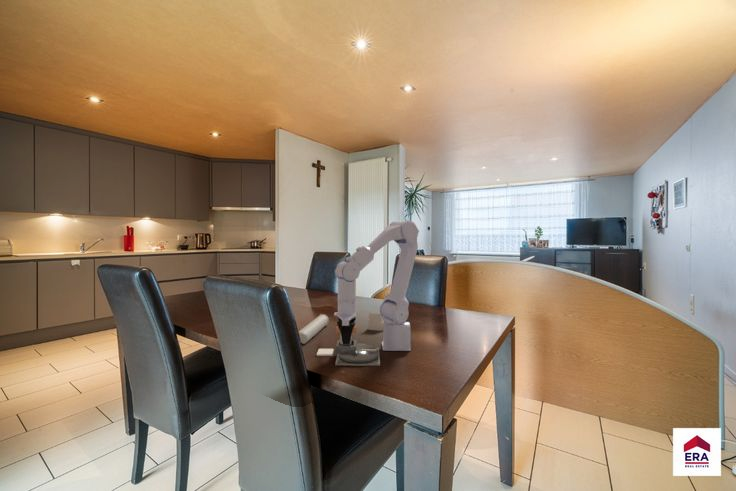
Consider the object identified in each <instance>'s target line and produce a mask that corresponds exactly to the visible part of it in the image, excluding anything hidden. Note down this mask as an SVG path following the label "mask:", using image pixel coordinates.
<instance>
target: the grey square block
mask: <svg viewBox="0 0 736 491" xmlns="http://www.w3.org/2000/svg"><path fill="white" fill-rule="evenodd" d="M367 324H368V328H367V329H368V330H369V331H381V332H383V317H382V316H381V314H380V313H378V312H376V313H375V312H369V313H368V322H367Z"/></svg>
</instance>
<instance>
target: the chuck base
mask: <svg viewBox="0 0 736 491" xmlns="http://www.w3.org/2000/svg"><path fill="white" fill-rule="evenodd" d="M377 348H378V350H379V351H380V349H379V347H377ZM335 366H351V367H353V366H357V367H358V366H362V367H363V366H365V367H366V366H367V367H368V366H372V367H373V366H374V367H375V366H376V367H377V366H378V367H379V366H381V360H380V355H379V356H378V358H377V359H375V360H373V361H370V362H365V363H351V362H346V361H343V360H341V359H340V358H339V357H338V354H336V359H335Z"/></svg>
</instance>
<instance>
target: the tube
mask: <svg viewBox="0 0 736 491" xmlns="http://www.w3.org/2000/svg"><path fill="white" fill-rule="evenodd" d="M329 322H330V320H329V317H328V316H327V314H322V313H320V314H319V315H318V316H317V317H316V318H315V319H313V320H312V321H310V322H309V323H308V324H307V325H305V326H304V327H302V328H301V329H299V331H298V332H299V335H300V338H301V343H302V344H301V345H306V344H307V343H308V342H310V340H312V338H314V337H315V336H316V335H317V334H318V333H319V332H320V331H321V330H322V329H324V328H325V327H327V325H328V324H329Z"/></svg>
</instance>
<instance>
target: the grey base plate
mask: <svg viewBox="0 0 736 491" xmlns="http://www.w3.org/2000/svg"><path fill="white" fill-rule="evenodd" d="M357 340H358V339H352V343H351V345H340V339H337V342H336V345H335V354H336V355H338V357H339V358H340V359H341V360H343V361H346V362H351V363H365V362H370V361H373V360H375V359H377V358H378V356H379V357H380V349H379V350H378V348H379V347H377V346H374V345H372V344H367V343H358V342H357Z"/></svg>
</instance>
